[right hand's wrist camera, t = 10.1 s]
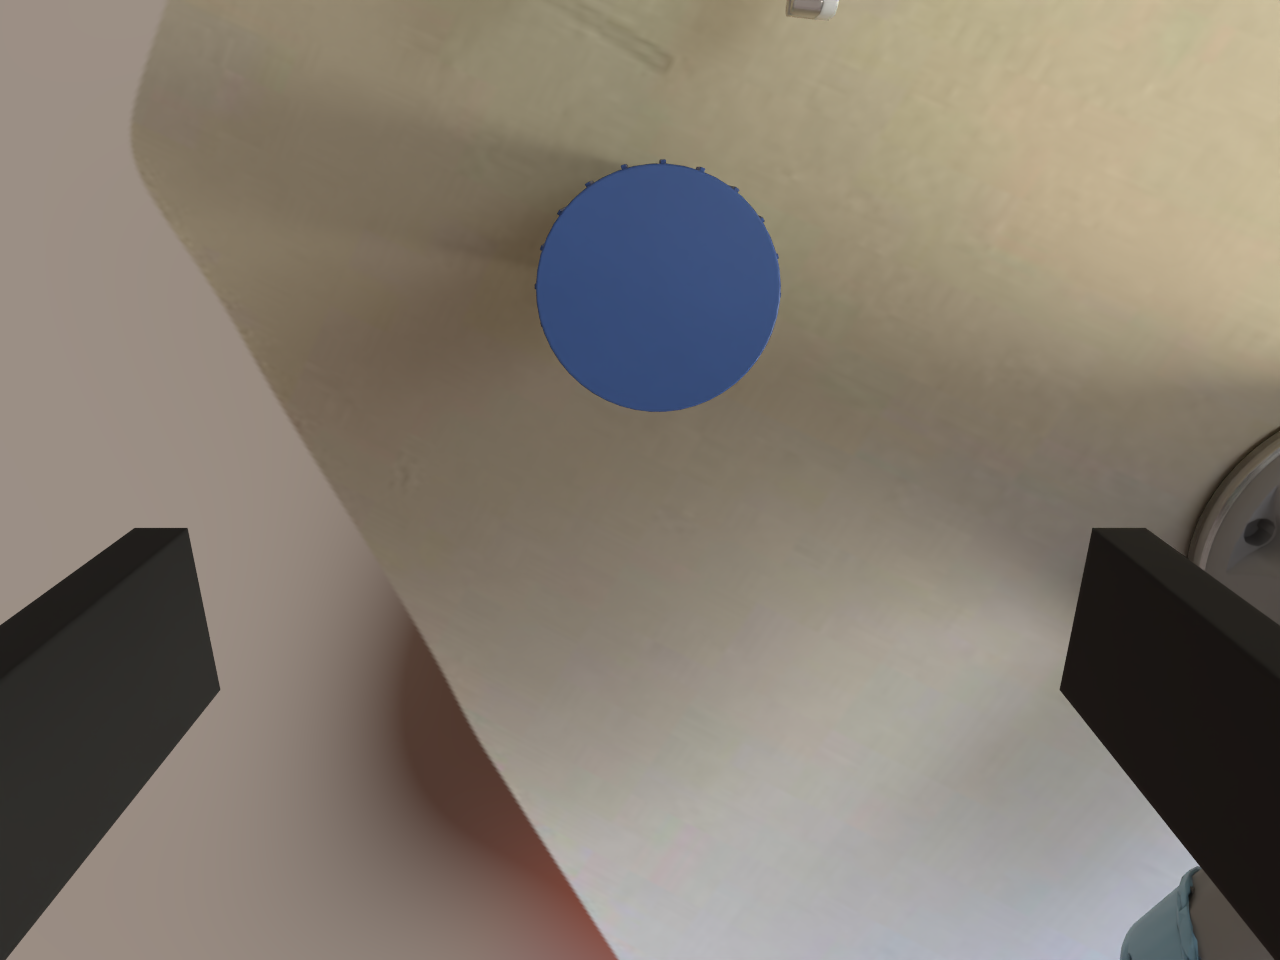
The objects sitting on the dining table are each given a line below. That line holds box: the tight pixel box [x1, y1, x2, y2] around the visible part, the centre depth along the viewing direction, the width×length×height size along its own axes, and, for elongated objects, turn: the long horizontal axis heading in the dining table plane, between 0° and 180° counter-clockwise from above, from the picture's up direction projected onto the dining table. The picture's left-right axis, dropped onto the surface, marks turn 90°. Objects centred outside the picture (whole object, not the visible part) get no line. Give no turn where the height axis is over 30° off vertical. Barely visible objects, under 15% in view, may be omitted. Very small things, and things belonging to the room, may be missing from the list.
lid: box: [535, 160, 781, 412], centre depth 20 cm, size 6×6×2 cm
